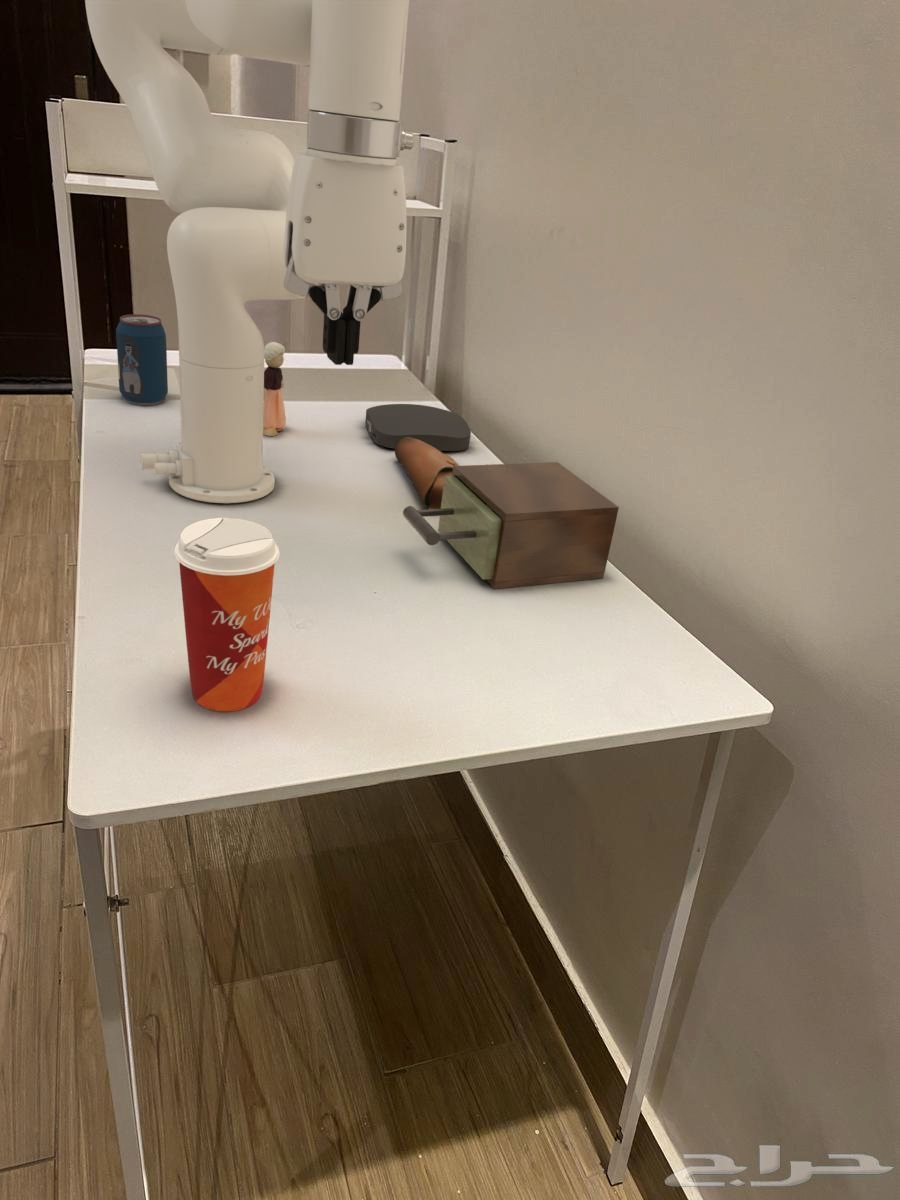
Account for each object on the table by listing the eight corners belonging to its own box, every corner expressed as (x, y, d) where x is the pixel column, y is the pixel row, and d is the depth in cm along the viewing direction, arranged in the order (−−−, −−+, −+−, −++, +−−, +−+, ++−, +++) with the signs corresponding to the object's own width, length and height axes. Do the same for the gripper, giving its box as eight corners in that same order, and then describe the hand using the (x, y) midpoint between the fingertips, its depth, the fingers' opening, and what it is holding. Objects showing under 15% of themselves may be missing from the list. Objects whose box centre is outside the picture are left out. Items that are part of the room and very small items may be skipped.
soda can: (166, 393, 142) (164, 314, 136) (169, 407, 136) (167, 325, 130) (119, 392, 139) (115, 312, 134) (120, 406, 134) (115, 323, 128)
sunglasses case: (489, 508, 114) (468, 464, 110) (439, 535, 114) (417, 492, 110) (451, 458, 129) (432, 418, 125) (407, 481, 129) (387, 442, 125)
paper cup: (228, 732, 69) (228, 568, 63) (157, 693, 73) (150, 534, 66) (295, 688, 76) (302, 535, 69) (227, 655, 79) (227, 506, 72)
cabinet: (494, 589, 96) (506, 514, 92) (444, 535, 106) (453, 465, 102) (603, 578, 101) (619, 507, 97) (545, 528, 112) (557, 461, 108)
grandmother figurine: (280, 439, 129) (283, 350, 123) (253, 436, 129) (255, 346, 123) (290, 423, 136) (292, 337, 130) (264, 420, 135) (266, 334, 129)
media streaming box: (474, 454, 133) (477, 434, 132) (376, 451, 129) (377, 430, 128) (452, 422, 145) (454, 404, 144) (361, 418, 142) (362, 400, 140)
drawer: (432, 584, 93) (439, 523, 90) (391, 534, 103) (396, 477, 100) (584, 570, 100) (596, 513, 97) (532, 524, 110) (541, 471, 107)
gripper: (419, 146, 82) (400, 351, 90) (253, 127, 76) (250, 349, 84) (452, 154, 76) (429, 372, 84) (274, 134, 70) (269, 371, 78)
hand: (339, 360), depth 84 cm, fingers closed
